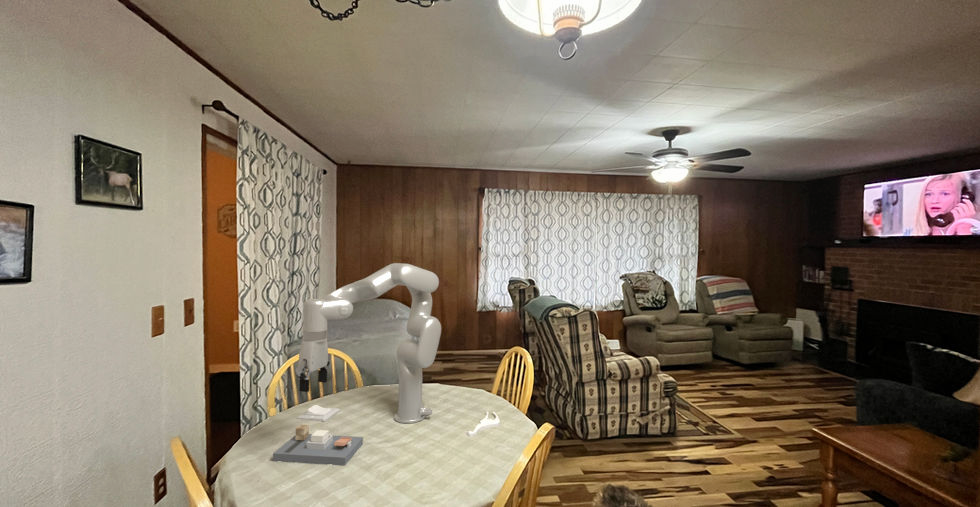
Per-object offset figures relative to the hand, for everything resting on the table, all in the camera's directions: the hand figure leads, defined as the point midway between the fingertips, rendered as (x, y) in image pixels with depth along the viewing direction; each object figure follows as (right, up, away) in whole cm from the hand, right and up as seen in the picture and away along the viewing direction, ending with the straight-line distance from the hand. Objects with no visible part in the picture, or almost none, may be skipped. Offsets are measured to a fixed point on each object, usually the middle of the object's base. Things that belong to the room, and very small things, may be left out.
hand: (313, 386), depth 133 cm
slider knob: (-6, -19, +3) cm, 20 cm away
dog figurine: (+57, -24, +23) cm, 66 cm away
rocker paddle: (+10, -19, -1) cm, 21 cm away
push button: (+2, -18, 0) cm, 18 cm away
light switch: (-11, -23, +30) cm, 39 cm away
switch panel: (+2, -22, 0) cm, 22 cm away
